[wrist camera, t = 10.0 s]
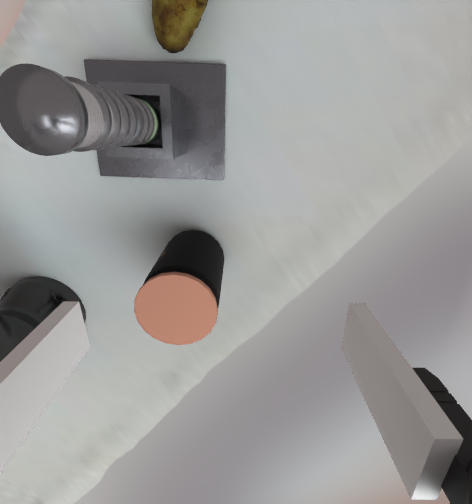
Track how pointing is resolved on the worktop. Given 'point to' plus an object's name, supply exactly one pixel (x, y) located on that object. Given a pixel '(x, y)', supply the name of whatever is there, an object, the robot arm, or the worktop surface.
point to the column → (71, 113)
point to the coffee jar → (182, 290)
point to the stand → (169, 118)
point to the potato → (176, 22)
